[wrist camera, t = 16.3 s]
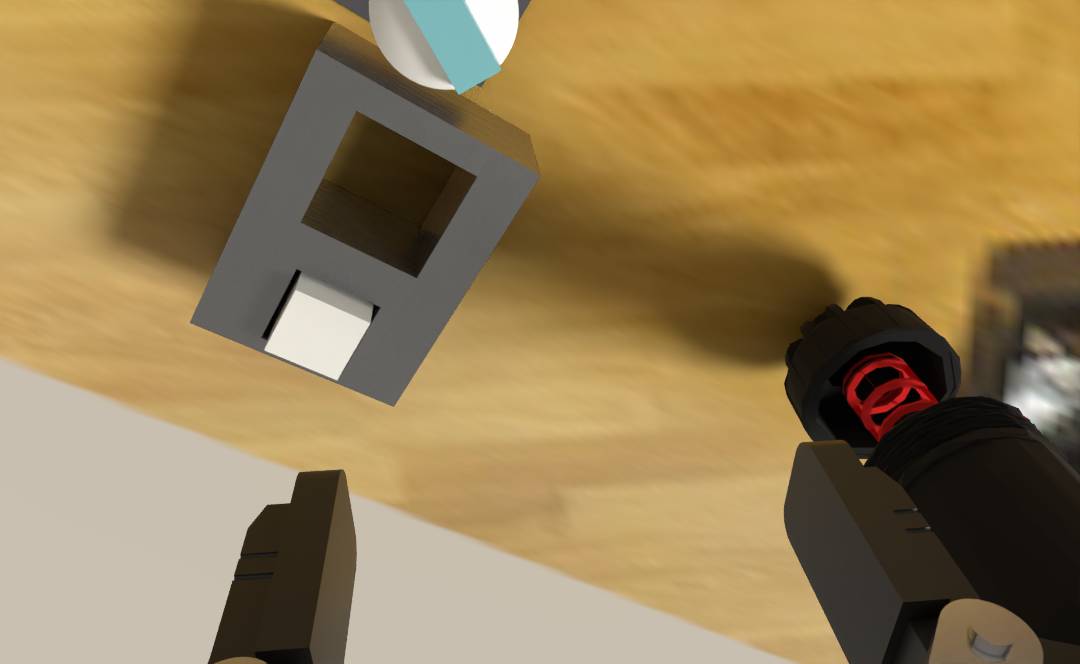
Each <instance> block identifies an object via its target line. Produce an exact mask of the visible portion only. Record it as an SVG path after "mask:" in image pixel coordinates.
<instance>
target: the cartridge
mask: <svg viewBox="0 0 1080 664" xmlns="http://www.w3.org/2000/svg"><path fill="white" fill-rule="evenodd" d="M369 17H370V24H371V28H372V32H373V35H374V37H375V40H376V42H377V44H378V46H379V48H380V50H381V52H382V53H383V55H384V56H385V57H386V59H387V60H388V61H389V62H390V64H391V65H392V66H393V67H394V68H395V69H396V70H398V71H399V72H400V73H401V74H402V75H404V76H405V77H407V78H408V79H410V80H412V81H414V82H416V83H418V84H420V85H423V86H426V87H430V88H435V89H444V90H450V89H455V90H456V91H457V93H458V95H460V94H461V93H463V92H465V91H467V90H468V89H470V88H472V87H474V86H475V85H477V84H479V83H481V82H482V81H484V80H486V79H488V78H489V77H491V76H493V75H495V74H496V73H498V72H500V71H501V67H500V65H501V64H502V63H503V61H504V60H505V58H506V57H507V55H508V54H509V52H510V50H511V48H512V46H513V43H514V40H515V37H516V33H517V28H518V20H519V8H518V0H369Z"/></svg>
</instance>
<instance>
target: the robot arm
mask: <svg viewBox="0 0 1080 664" xmlns="http://www.w3.org/2000/svg"><path fill="white" fill-rule="evenodd" d="M784 522H785V528H786V532H787V536H788V538H789V541H790V543H791V545H792V547H793V549H794V551H795V553H796V555H797V557H798V559H799V562H800V564H801V566H802V568H803V570H804V572H805V574H806V576H807V578H808V580H809V582H810V584H811V586H812V588H813V590H814V592H815V594H816V596H817V599H818V601H819V603H820V605H821V607H822V609H823V611H824V613H825V615H826V617H827V619H828V621H829V623H830V625H831V627H832V629H833V631H834V634H835V636H836V638H837V640H838V642H839V644H840V646H841V648H842V650H843V652H844V654H845V656H846V658H847V660H848V662H849V664H1080V646H1078V645H1073V644H1068V643H1062V642H1057V641H1052V640H1047V639H1043V638H1039V637H1037V636H1036V635H1035V633H1034V632H1033V630H1032V629H1031V628H1030V627H1029V626H1028V625H1027V624H1026V623H1025V622H1024V621H1023V620H1022V619H1020V618H1019V617H1018V616H1016V615H1015V614H1013V613H1012V612H1010V611H1008V610H1007V609H1005V608H1003V607H1001V606H998V605H996V604H994V603H990V602H987V601H983V600H981V598H980V597H979V596H978V594H977V593H976V591H975V590H974V589H973V587H972V586H971V584H970V583H969V581H968V580H967V579H966V577H965V576H964V574H963V573H962V571H961V570H960V569H959V567H958V566H957V564H956V563H955V561H954V560H953V559H952V557H951V556H950V554H949V553H948V551H947V550H946V549H945V547H944V546H943V544H942V543H941V542H940V540H939V539H938V537H937V536H936V534H935V533H934V532H931V530H930V526H929V524H928V523H927V522H926V520H925V519H924V517H923V516H922V514H921V513H918V512H917V507H916V506H915V504H914V503H913V502H912V500H911V499H910V497H909V496H908V494H907V493H906V492H905V490H904V489H903V487H902V486H901V485H900V484H898V483H897V482H896V481H894V480H893V479H892V478H890V477H889V476H888V475H887V474H885V473H884V472H883V471H881V470H880V469H879V468H877V467H864V466H863V465H862V463H861V462H860V460H859V459H858V457H857V456H856V454H855V453H854V451H853V450H852V448H851V447H850V445H849V444H848V443H847V442H846V441H844V440H832V441H816V442H803V443H800V444H799V446H798V448H797V450H796V454H795V459H794V463H793V468H792V472H791V477H790V481H789V486H788V491H787V495H786V500H785V505H784ZM356 555H357V552H356V535H355V528H354V522H353V516H352V510H351V504H350V498H349V492H348V486H347V480H346V475H345V472H344V470H326V471H310V472H300V473H299V474H298V476H297V479H296V482H295V487H294V491H293V495H292V499H291V503H288V504H275V505H274V504H273V505H267V506H266V507H265V508H264V510H263V511H262V512H261V513H260V515H259V516H258V517H257V518H256V519H255V521H254V522H253V523H252V524H251V525H250V527H249V528H248V530H247V533H246V537H245V540H244V544H243V547H242V551H241V558H240V559H239V561H238V564H237V568H236V571H235V574H234V581H232V584H231V588H230V591H229V595H228V598H227V602H226V605H225V608H224V612H223V615H222V618H221V622H220V625H219V629H218V632H217V635H216V639H215V642H214V646H213V649H212V652H211V656H210V659H209V662H208V664H344V657H345V649H346V642H347V634H348V626H349V619H350V611H351V603H352V595H353V588H354V580H355V572H356Z"/></svg>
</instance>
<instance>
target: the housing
mask: <svg viewBox="0 0 1080 664" xmlns="http://www.w3.org/2000/svg"><path fill="white" fill-rule="evenodd" d="M356 111H358V112H360V113H361V114H363V115H365V116H367V117H369V118H371V119H372V120H374V121H376V122H378V123H380V124H382V125H384V126H385V127H387V128H389V129H391V130H393V131H395V132H396V133H398V134H400V135H402V136H404V137H406V138H407V139H409V140H411V141H413V142H415V143H417V144H418V145H420V146H422V147H424V148H426V149H428V150H430V151H431V152H433V153H435V154H437V155H439V156H441V157H442V158H444V159H446V160H448V161H450V162H452V163H453V164H455V165H457V166H456V167H455V169H454V171H453V173H452V174H451V176H450V178H449V179H448V181H447V183H446V185H445V186H444V188H443V190H442V192H441V193H440V195H439V197H438V198H437V200H436V202H435V204H434V205H433V207H432V209H431V210H430V212H429V214H428V216H427V217H426V219H425V221H424V223H423V224H422V226H421V228H419V227H417V226H415V225H413V224H411V223H409V222H407V221H405V220H403V219H402V218H400V217H398V216H396V215H394V214H392V213H390V212H388V211H386V210H384V209H382V208H380V207H378V206H376V205H374V204H372V203H370V202H368V201H366V200H364V199H362V198H360V197H358V196H356V195H354V194H352V193H350V192H348V191H346V190H344V189H342V188H340V187H338V186H336V185H334V184H332V183H330V182H328V181H326V180H324V179H322V178H323V176H324V174H325V172H326V170H327V168H328V167H329V165H330V163H331V161H332V159H333V157H334V155H335V153H336V151H337V149H338V147H339V145H340V143H341V141H342V139H343V137H344V135H345V133H346V131H347V129H348V127H349V125H350V123H351V121H352V119H353V117H354V115H355V113H356ZM540 176H541V175H540V171H539V168H538V164H537V160H536V157H535V153H534V150H533V146H532V143H531V139H530V135H529V134H527V133H525V132H523V131H522V130H520V129H518V128H517V127H515V126H513V125H511V124H510V123H508V122H506V121H504V120H503V119H501V118H499V117H498V116H496V115H494V114H492V113H491V112H489V111H487V110H485V109H484V108H482V107H480V106H479V105H477V104H475V103H473V102H472V101H470V100H468V99H466V98H465V97H463V96H461V95H458V93H456V92H454V91H453V90H451V89H450V90H444V89H435V88H430V87H426V86H423V85H420V84H418V83H416V82H414V81H412V80H410V79H408V78H407V77H405V76H404V75H402V74H401V73H400V72H399V71H398V70H396V69H395V68H394V67H393V66H392V65H391V64H390V62H389V61H388V60H387V59H386V57H385V56H384V55H383V53H382V52H381V50H380V48H378V47H377V46H375V45H373V44H372V43H370V42H368V41H366V40H365V39H363V38H361V37H359V36H358V35H356V34H354V33H353V32H351V31H349V30H347V29H346V28H344V27H342V26H340V25H339V24H337V23H335V22H333V24H332V26H331V27H330V29H329V30H328V32H327V33H326V35H325V37H324V38H323V40H322V41H321V43H320V44H319V46H318V48H317V49H316V51H315V53H314V56H313V58H312V60H311V62H310V64H309V66H308V69H307V71H306V73H305V75H304V77H303V79H302V82H301V84H300V86H299V88H298V90H297V92H296V94H295V97H294V99H293V101H292V103H291V105H290V107H289V110H288V112H287V114H286V116H285V118H284V120H283V123H282V125H281V127H280V129H279V131H278V133H277V135H276V138H275V140H274V142H273V144H272V146H271V148H270V151H269V153H268V155H267V157H266V159H265V161H264V164H263V166H262V168H261V170H260V172H259V174H258V176H257V179H256V181H255V183H254V185H253V187H252V189H251V192H250V194H249V196H248V198H247V200H246V202H245V205H244V207H243V209H242V211H241V213H240V215H239V217H238V220H237V222H236V224H235V226H234V228H233V230H232V233H231V235H230V237H229V239H228V241H227V243H226V246H225V248H224V250H223V252H222V254H221V256H220V258H219V261H218V263H217V265H216V267H215V269H214V271H213V274H212V276H211V278H210V280H209V282H208V284H207V287H206V289H205V291H204V293H203V295H202V297H201V299H200V302H199V304H198V306H197V308H196V310H195V312H194V315H193V317H192V319H191V321H190V323H191V324H194V325H196V326H199V327H201V328H204V329H206V330H208V331H211V332H213V333H216V334H218V335H221V336H223V337H225V338H228V339H230V340H233V341H235V342H238V343H240V344H242V345H245V346H247V347H250V348H252V349H255V350H257V351H259V352H262V353H264V354H267V355H269V356H272V357H274V358H276V359H279V360H281V361H284V362H286V363H289V364H291V365H293V366H296V367H298V368H301V369H303V370H306V371H308V372H310V373H313V374H315V375H318V376H320V377H323V378H325V379H327V380H330V381H332V382H335V383H337V384H340V385H342V386H344V387H347V388H349V389H352V390H354V391H357V392H359V393H361V394H364V395H366V396H369V397H371V398H374V399H376V400H378V401H381V402H383V403H386V404H388V405H391V406H393V407H394V406H395V404H396V403H397V401H398V400H399V398H400V396H401V395H402V393H403V392H404V390H405V389H406V387H407V385H408V384H409V382H410V381H411V379H412V377H413V376H414V374H415V373H416V371H417V370H418V368H419V366H420V365H421V363H422V362H423V360H424V359H425V357H426V355H427V354H428V352H429V351H430V349H431V348H432V346H433V344H434V343H435V341H436V340H437V338H438V336H439V335H440V333H441V332H442V330H443V329H444V327H445V325H446V324H447V322H448V321H449V319H450V318H451V316H452V314H453V313H454V311H455V310H456V308H457V306H458V305H459V303H460V302H461V300H462V299H463V297H464V295H465V294H466V292H467V291H468V289H469V288H470V286H471V284H472V283H473V281H474V280H475V278H476V277H477V275H478V273H479V272H480V270H481V269H482V267H483V265H484V264H485V262H486V261H487V259H488V258H489V256H490V254H491V253H492V251H493V250H494V248H495V247H496V245H497V243H498V242H499V240H500V239H501V237H502V236H503V234H504V232H505V231H506V229H507V228H508V226H509V224H510V223H511V221H512V220H513V218H514V217H515V215H516V213H517V212H518V210H519V209H520V207H521V206H522V204H523V202H524V201H525V199H526V198H527V196H528V195H529V193H530V191H531V190H532V188H533V187H534V185H535V183H536V182H537V180H538V179H539V177H540ZM296 269H298V270H300V271H302V272H304V273H307V274H309V275H311V276H313V277H315V278H318V279H320V280H322V281H324V282H326V283H329V284H331V285H333V286H335V287H337V288H340V289H342V290H344V291H346V292H348V293H351V294H353V295H355V296H357V297H359V298H361V299H364V300H366V301H368V302H370V303H372V304H373V310H372V317H371V323H370V325H369V327H368V328H367V330H366V332H365V333H364V335H363V337H362V339H361V340H360V342H359V344H358V345H357V347H356V349H355V351H354V352H353V354H352V356H351V357H350V359H349V361H348V363H347V364H346V366H345V368H344V369H343V371H342V373H341V375H340V376H339V378H338V380H335V379H332V378H330V377H328V376H325V375H323V374H320V373H318V372H315V371H313V370H311V369H308V368H306V367H303V366H301V365H298V364H296V363H294V362H291V361H289V360H286V359H284V358H282V357H279V356H277V355H274V354H272V353H269V352H267V351H265V350H264V349H265V346H266V343H267V341H268V338H269V335H270V332H271V330H272V327H273V324H274V321H275V318H276V316H277V313H278V310H279V307H280V305H281V302H282V299H283V297H284V296H285V294H286V292H287V290H288V288H289V286H290V285H289V283H290V281H291V279H292V277H293V275H294V273H295V271H296Z"/></svg>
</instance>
